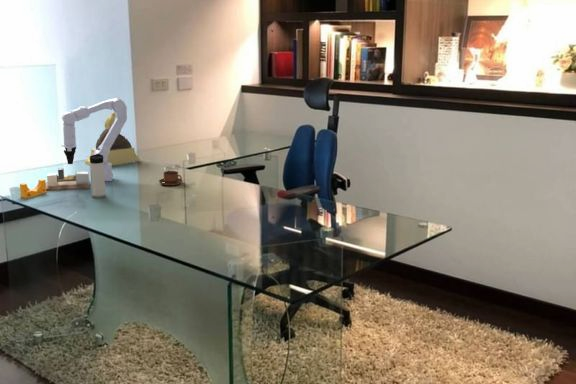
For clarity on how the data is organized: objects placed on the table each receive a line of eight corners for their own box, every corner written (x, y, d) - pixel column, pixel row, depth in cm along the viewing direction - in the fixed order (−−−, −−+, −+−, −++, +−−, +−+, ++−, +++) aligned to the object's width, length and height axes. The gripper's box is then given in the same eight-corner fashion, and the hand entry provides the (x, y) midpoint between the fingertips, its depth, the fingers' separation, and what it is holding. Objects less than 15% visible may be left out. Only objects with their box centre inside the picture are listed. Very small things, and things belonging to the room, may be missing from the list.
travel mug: (107, 194, 311) (104, 153, 306) (103, 198, 304) (101, 156, 299) (94, 194, 311) (91, 153, 305) (90, 197, 304) (87, 156, 299)
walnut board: (89, 181, 333) (89, 179, 333) (88, 188, 320) (88, 186, 320) (46, 183, 328) (46, 181, 328) (43, 190, 315) (43, 188, 315)
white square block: (58, 183, 325) (57, 172, 323) (57, 185, 320) (56, 175, 319) (48, 183, 324) (47, 173, 322) (47, 186, 319) (46, 175, 318)
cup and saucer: (184, 181, 338) (183, 170, 337) (181, 187, 327) (180, 175, 325) (161, 181, 338) (160, 169, 336) (157, 187, 326) (157, 175, 325)
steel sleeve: (89, 182, 329) (88, 171, 327) (88, 184, 324) (88, 173, 323) (76, 182, 327) (76, 172, 326) (76, 185, 323) (75, 174, 321)
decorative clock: (129, 157, 391) (127, 108, 383) (139, 161, 381) (137, 111, 373) (85, 163, 373) (81, 112, 365) (94, 168, 364) (91, 115, 356)
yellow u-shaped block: (26, 198, 302) (25, 185, 300) (20, 197, 304) (19, 183, 302) (48, 193, 311) (47, 180, 310) (43, 191, 314) (42, 179, 312)
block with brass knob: (79, 180, 326) (78, 167, 325) (79, 181, 323) (78, 169, 322) (51, 181, 323) (50, 168, 321) (50, 183, 320) (49, 170, 318)
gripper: (62, 133, 331) (63, 159, 335) (60, 138, 318) (61, 165, 321) (76, 133, 333) (77, 159, 337) (75, 138, 320) (76, 165, 323)
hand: (70, 162), depth 329 cm, fingers open, 7 cm apart
